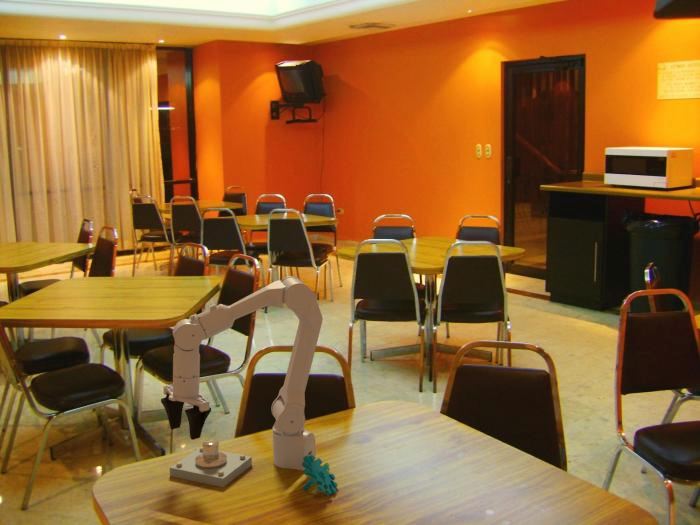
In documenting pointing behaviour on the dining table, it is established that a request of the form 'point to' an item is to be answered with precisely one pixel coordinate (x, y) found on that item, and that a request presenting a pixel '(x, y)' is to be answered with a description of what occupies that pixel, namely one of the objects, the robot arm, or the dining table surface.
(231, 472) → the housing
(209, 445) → the end cap
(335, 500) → the dining table surface
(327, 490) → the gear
